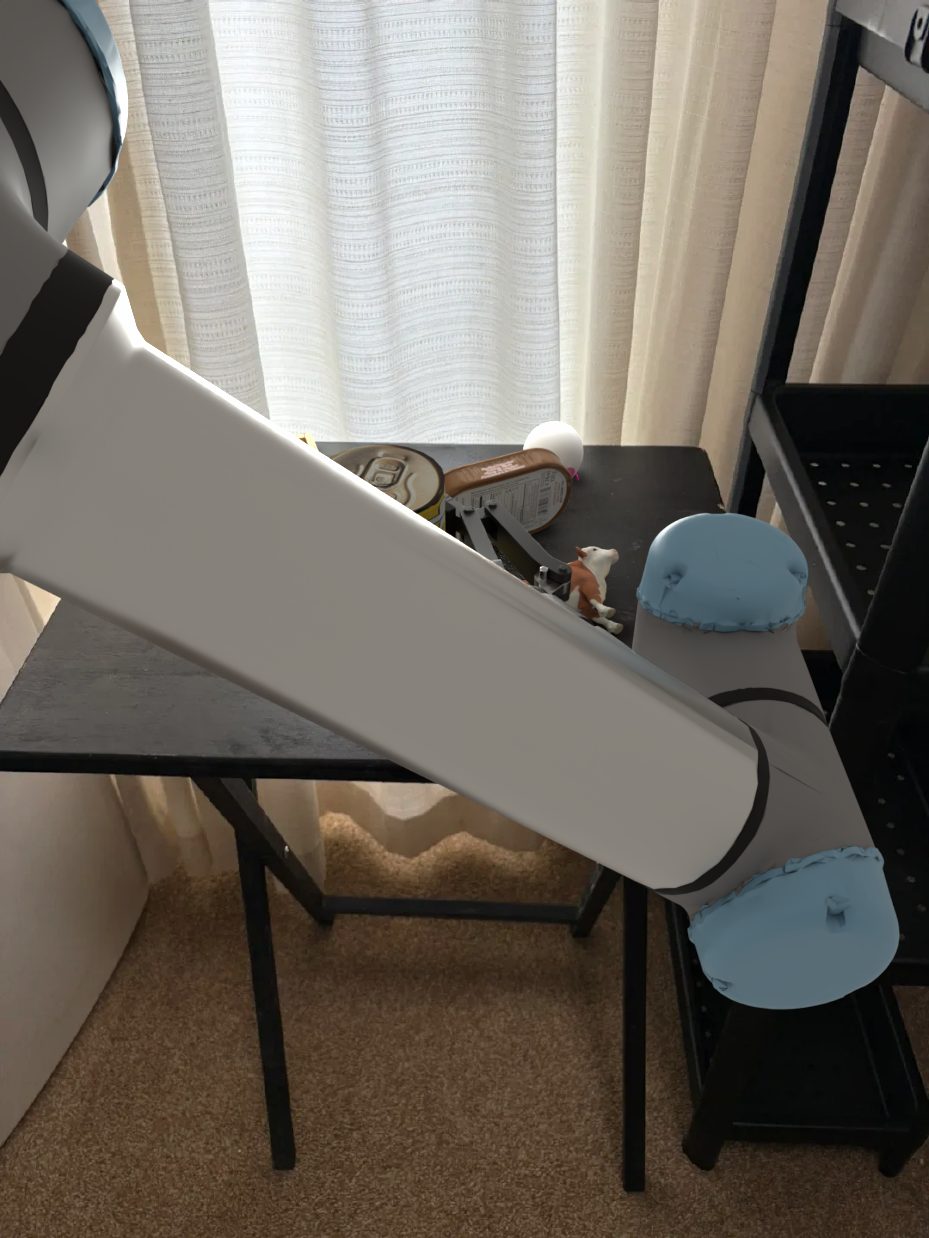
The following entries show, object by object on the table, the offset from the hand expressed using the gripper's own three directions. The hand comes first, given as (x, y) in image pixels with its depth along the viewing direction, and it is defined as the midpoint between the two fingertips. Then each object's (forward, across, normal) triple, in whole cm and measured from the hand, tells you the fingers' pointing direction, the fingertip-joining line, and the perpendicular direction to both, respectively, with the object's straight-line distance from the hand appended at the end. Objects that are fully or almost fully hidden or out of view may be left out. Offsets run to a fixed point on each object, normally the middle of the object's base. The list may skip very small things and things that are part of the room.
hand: (344, 510), depth 77 cm
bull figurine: (-13, +15, -12) cm, 23 cm away
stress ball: (+8, +29, -14) cm, 34 cm away
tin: (+4, +19, -14) cm, 24 cm away
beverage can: (-5, 0, -7) cm, 9 cm away
